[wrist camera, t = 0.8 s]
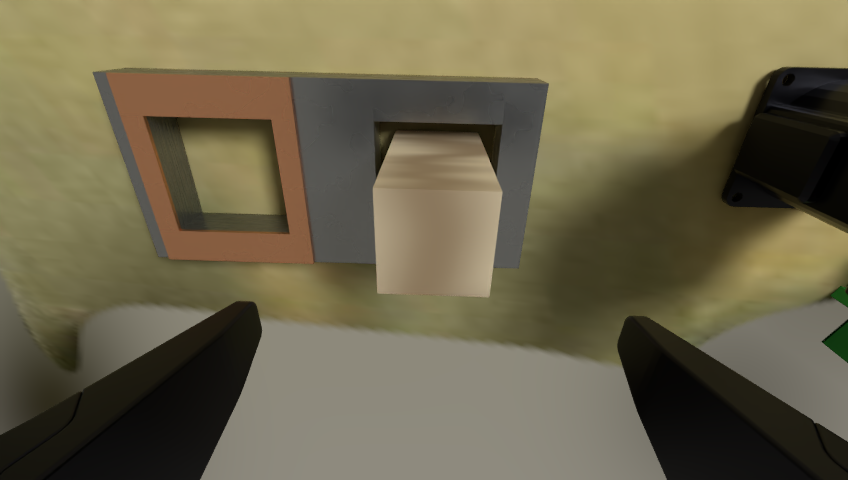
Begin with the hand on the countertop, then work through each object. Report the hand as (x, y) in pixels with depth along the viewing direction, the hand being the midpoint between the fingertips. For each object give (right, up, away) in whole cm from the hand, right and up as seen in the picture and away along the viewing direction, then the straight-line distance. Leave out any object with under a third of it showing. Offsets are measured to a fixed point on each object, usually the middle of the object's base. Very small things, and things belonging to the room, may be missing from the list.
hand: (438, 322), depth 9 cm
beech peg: (0, +6, +10) cm, 12 cm away
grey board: (-5, +6, +10) cm, 13 cm away
